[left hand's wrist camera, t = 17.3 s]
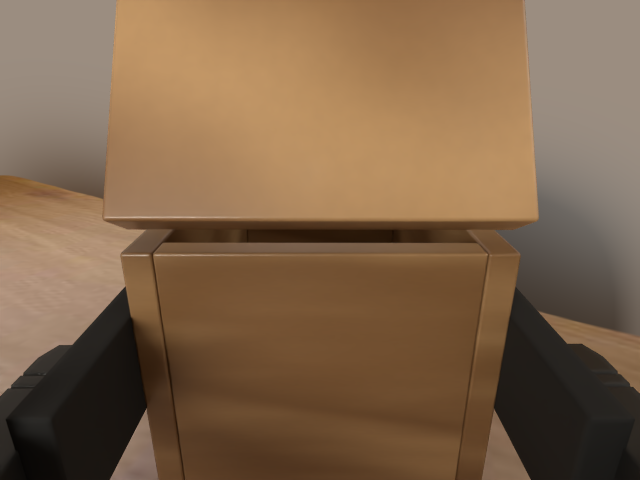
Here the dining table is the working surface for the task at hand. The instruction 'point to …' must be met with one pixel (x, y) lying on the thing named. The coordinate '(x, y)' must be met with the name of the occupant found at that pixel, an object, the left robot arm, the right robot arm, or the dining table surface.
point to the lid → (320, 115)
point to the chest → (320, 350)
